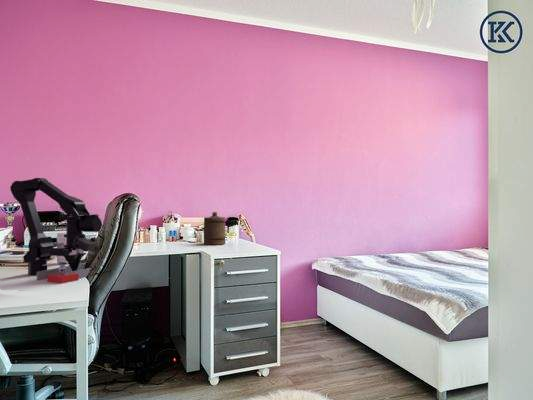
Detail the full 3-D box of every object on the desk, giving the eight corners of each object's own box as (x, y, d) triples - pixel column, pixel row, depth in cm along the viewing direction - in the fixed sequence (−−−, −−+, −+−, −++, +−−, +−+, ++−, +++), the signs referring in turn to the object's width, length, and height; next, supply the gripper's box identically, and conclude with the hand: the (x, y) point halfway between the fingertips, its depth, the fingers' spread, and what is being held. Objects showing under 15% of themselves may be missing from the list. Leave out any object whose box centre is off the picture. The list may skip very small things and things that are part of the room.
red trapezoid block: (78, 281, 150) (78, 264, 150) (61, 284, 144) (61, 266, 144) (64, 279, 153) (64, 262, 153) (47, 282, 147) (47, 265, 147)
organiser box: (36, 279, 150) (36, 271, 150) (86, 269, 174) (86, 262, 174) (64, 282, 146) (64, 273, 146) (111, 270, 170) (111, 263, 170)
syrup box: (75, 261, 197) (75, 231, 197) (66, 263, 191) (66, 232, 191) (65, 261, 199) (65, 231, 199) (56, 263, 193) (56, 232, 193)
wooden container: (229, 243, 285) (229, 211, 285) (218, 245, 272) (217, 212, 272) (211, 242, 291) (211, 211, 291) (199, 244, 278) (199, 212, 278)
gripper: (72, 233, 148) (72, 276, 148) (107, 230, 166) (108, 269, 166) (48, 233, 151) (48, 275, 151) (85, 230, 169) (85, 267, 169)
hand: (74, 271), depth 159 cm, fingers closed
